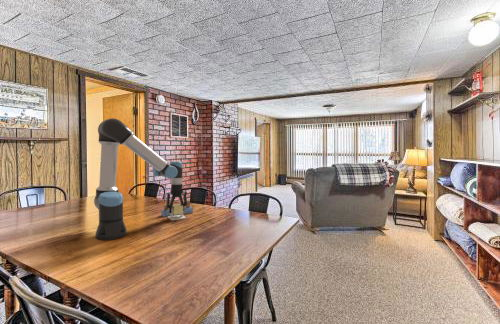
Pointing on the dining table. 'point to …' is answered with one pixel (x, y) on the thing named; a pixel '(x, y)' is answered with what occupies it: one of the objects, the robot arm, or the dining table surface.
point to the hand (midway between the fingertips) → (176, 216)
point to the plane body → (186, 210)
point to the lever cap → (177, 209)
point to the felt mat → (177, 217)
